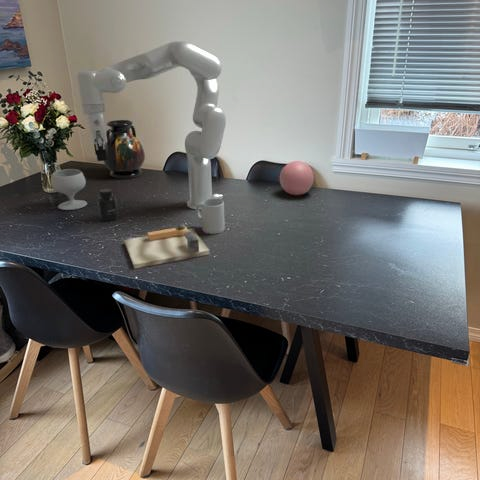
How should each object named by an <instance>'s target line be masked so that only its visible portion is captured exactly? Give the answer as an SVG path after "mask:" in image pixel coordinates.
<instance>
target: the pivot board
mask: <svg viewBox="0 0 480 480" xmlns="http://www.w3.org/2000/svg"><path fill="white" fill-rule="evenodd" d="M177 227H178V229H180V230H182V229H185V227H186V225H185V223H184V224H183V223H180V224H179V223H178V225H177ZM123 240H124V245H125V248H126V250H127V254H128V255H129V259H130V260H131V263H132V266H133V268H134V269H141V268H146V267H151V266H156V265H163V264H167V263H170V262H171V263H172V262H176V261H181V260H189V259H192V258H193V259H194V258H196V257H203V256H208V255H211V254H210V253H211V252H210V248H208V246H207V245H206V244H205V243H204V241H203V240H202V238H201V237H200V236H199V235H198V233H197V232H196V231H195V230H194V228H187V232H185V233H184V235H183V236H179V235H178V236H172V237H167V238H161V239H155V240H149V239H148V235H146V236H144V235H143V236H140V237H133V238H128V239H123Z"/></svg>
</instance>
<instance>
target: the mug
mask: <svg viewBox="0 0 480 480" xmlns="http://www.w3.org/2000/svg"><path fill="white" fill-rule="evenodd" d="M199 207H201V210H199ZM200 211H201V213H200ZM195 213H196V214H195V215H196V218H197V219H198V220H199V221H201V229H202V231H203V233H205V234H208V233H209V235H216V234H217V233H218V234H221V233H223V232H224V231H225V227H226V226H225V202H224V200H222V199H206V200H204V201H202V202H201V203H200V204H198V205H197V206H196V209H195Z"/></svg>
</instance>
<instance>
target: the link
mask: <svg viewBox="0 0 480 480" xmlns="http://www.w3.org/2000/svg"><path fill="white" fill-rule="evenodd" d="M187 229H188V227H187V226H185V229H182V230H180V229H178V226H177V227H173V228H167V229H161V230H155V231H147V236H148V239H149V240H155V239H161V238H167V237H172V236H178V235H179V236H183V235H184V233H185V232H187Z"/></svg>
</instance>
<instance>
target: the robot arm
mask: <svg viewBox="0 0 480 480" xmlns="http://www.w3.org/2000/svg"><path fill="white" fill-rule="evenodd" d="M178 67H180V68H185V69H186V70H188V71H189V73H190V75H191V76H192V77H193V79H194V81H195V83H196V87H197V89H196V90H197V93H196V98H195V104H194V108H193V114H192V121H193V123H194V125H195V126H196V127H198V128H201V131H200V130H193V131H190V132H189V133H188V134H186V137H185V139H184V148H185V149H184V150H185V153H186V159H187V170H188V185H189V186H188V187H189V198H190V199H189V200H188V201H186V206H187V207H188V208H189V209H192V210H196V206H197V205H198V204H200V203H201V202H202V201H204V200H206V199H220V200H222V199H224V197H223V194H218V193H214V194H213V189H212V187H213V186H212V184H213V183H212V165H211V164H212V163H211V160H213V159H215V158H216V157H217V155H218V154H219V153H220V150H221V147H222V142H223V140H224V139H223V138H224V133H225V128H226V124H227V123H226V122H227V121H226V120H227V119H226V115H225V112H224V111H223V109H221V108H220V107H218V101H219V95H220V94H219V93H220V89H219V88H220V87H219V83H218V78H219V77H220V75H221V73H222V63H221V62H220V60H219V59H218V58H217V56H215V55H213V54H211V53H209V52H208V51H206V50H204V49H202V48H199V47H198V46H196V45H194V44H193V43H190V42H187V41H180V40H179V41H178V40H177V41H170V42H168V43H165V44H163V45H160V46H158V47H155V48H152V49H151V50H148V51H146V52H143V53H140V54H138V55H135V56H132V57H130V58H127V59H123V60H121V61H118V62H116V63H113V64H111V65H109V66H106V67H103V68H101V69H100V70H99V71H96V70H83V71H82V70H80V71H78V72H77V74H76V75H77V76H76V77H77V84H78V89H79V96H80V101H81V102H80V104H81V107H82V114H83V115H85V116H87V123H88V129H89V133H90V137H91V140H92V143H93V146H94V153H95V155H96V159H97V162H102V161H103V162H104V161H105V160H107V157H106V150H105V147H104V144H105V142H107V136H106V132H107V129H106V124H105V118H104V114H106V106H105V99H104V98H105V97H104V93H112V94H117V93H121V92H122V91H124V90H125V88H126V85H127V83H130V82H133V81H139V80H140V81H141V80H148V79H152V78H155V77H158V76H160V75H161V74H164V73H166V72H168V71H171V70H173V69H176V68H178ZM199 211H201V207H199Z"/></svg>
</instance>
